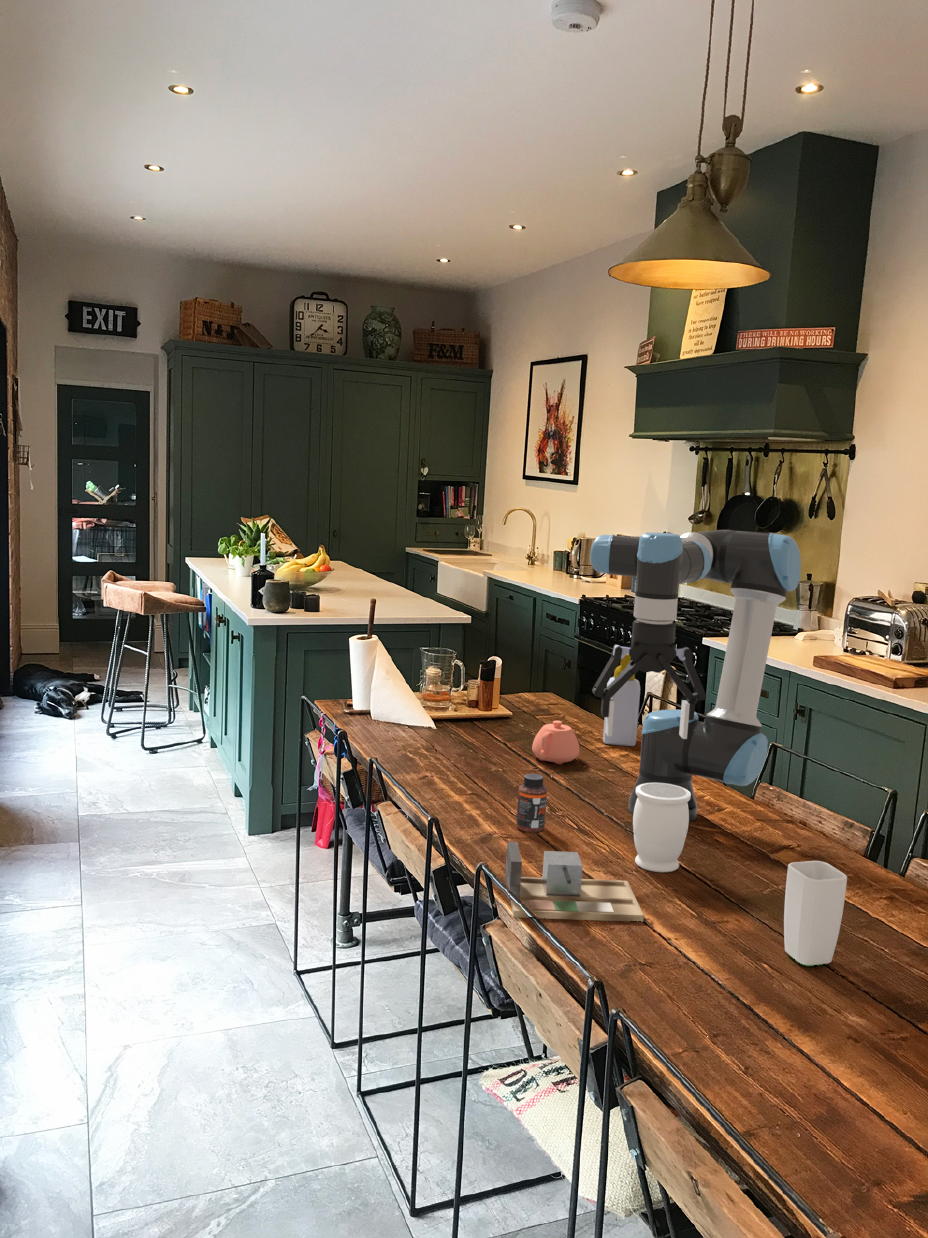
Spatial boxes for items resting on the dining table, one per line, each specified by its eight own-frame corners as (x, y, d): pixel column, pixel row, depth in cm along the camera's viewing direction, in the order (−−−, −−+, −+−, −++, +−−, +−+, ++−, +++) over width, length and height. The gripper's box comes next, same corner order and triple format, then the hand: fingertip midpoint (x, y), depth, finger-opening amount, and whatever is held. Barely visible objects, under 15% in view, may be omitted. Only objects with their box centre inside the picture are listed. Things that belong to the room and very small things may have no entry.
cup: (801, 972, 153) (811, 881, 151) (774, 950, 160) (783, 862, 158) (841, 968, 155) (852, 878, 153) (813, 946, 162) (822, 859, 160)
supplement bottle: (542, 835, 205) (546, 782, 203) (514, 831, 206) (517, 779, 204) (546, 825, 211) (549, 773, 209) (518, 821, 212) (521, 770, 210)
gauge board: (627, 887, 181) (630, 844, 180) (643, 922, 168) (647, 876, 166) (504, 882, 180) (507, 839, 179) (510, 917, 167) (513, 871, 165)
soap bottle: (603, 736, 284) (609, 650, 280) (634, 739, 283) (641, 652, 279) (603, 744, 275) (609, 655, 271) (635, 747, 274) (643, 658, 270)
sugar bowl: (586, 759, 261) (589, 721, 259) (562, 771, 249) (565, 731, 248) (545, 749, 267) (547, 713, 266) (519, 761, 256) (522, 722, 254)
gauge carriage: (575, 884, 178) (577, 852, 177) (584, 911, 167) (587, 878, 166) (541, 882, 178) (544, 851, 177) (549, 910, 167) (551, 876, 166)
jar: (651, 879, 186) (658, 802, 183) (618, 858, 195) (624, 785, 192) (695, 871, 191) (702, 796, 188) (661, 851, 200) (667, 779, 197)
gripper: (717, 619, 181) (708, 732, 184) (581, 614, 180) (574, 727, 183) (730, 626, 173) (719, 743, 177) (588, 621, 172) (580, 739, 176)
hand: (645, 735), depth 180 cm, fingers open, 13 cm apart
